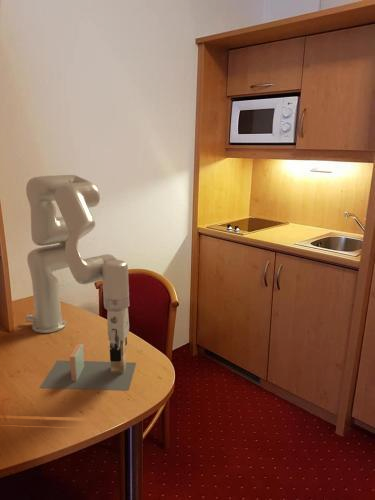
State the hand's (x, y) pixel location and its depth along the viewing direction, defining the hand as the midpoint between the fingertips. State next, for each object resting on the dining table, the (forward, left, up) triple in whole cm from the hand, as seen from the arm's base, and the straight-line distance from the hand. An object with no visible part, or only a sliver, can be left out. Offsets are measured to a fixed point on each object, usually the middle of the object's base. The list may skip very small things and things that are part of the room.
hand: (118, 352), depth 124 cm
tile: (-12, -3, -6) cm, 14 cm away
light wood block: (0, 0, -6) cm, 6 cm away
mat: (-8, -3, -7) cm, 11 cm away
